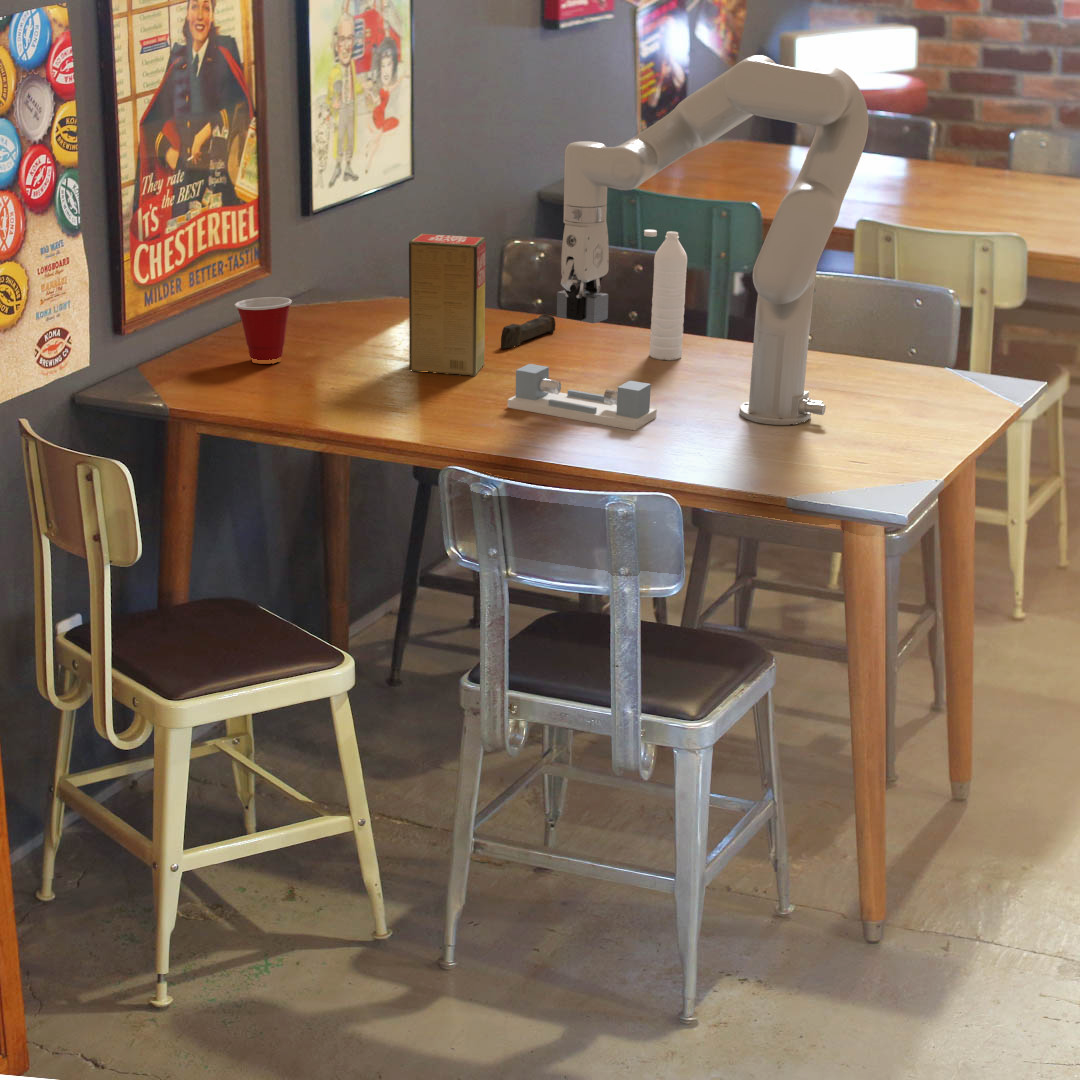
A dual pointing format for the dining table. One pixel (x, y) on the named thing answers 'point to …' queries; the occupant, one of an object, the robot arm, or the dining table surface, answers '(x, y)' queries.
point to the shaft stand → (582, 400)
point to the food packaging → (447, 304)
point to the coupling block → (586, 306)
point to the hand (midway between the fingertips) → (582, 315)
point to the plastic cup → (264, 325)
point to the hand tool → (526, 330)
